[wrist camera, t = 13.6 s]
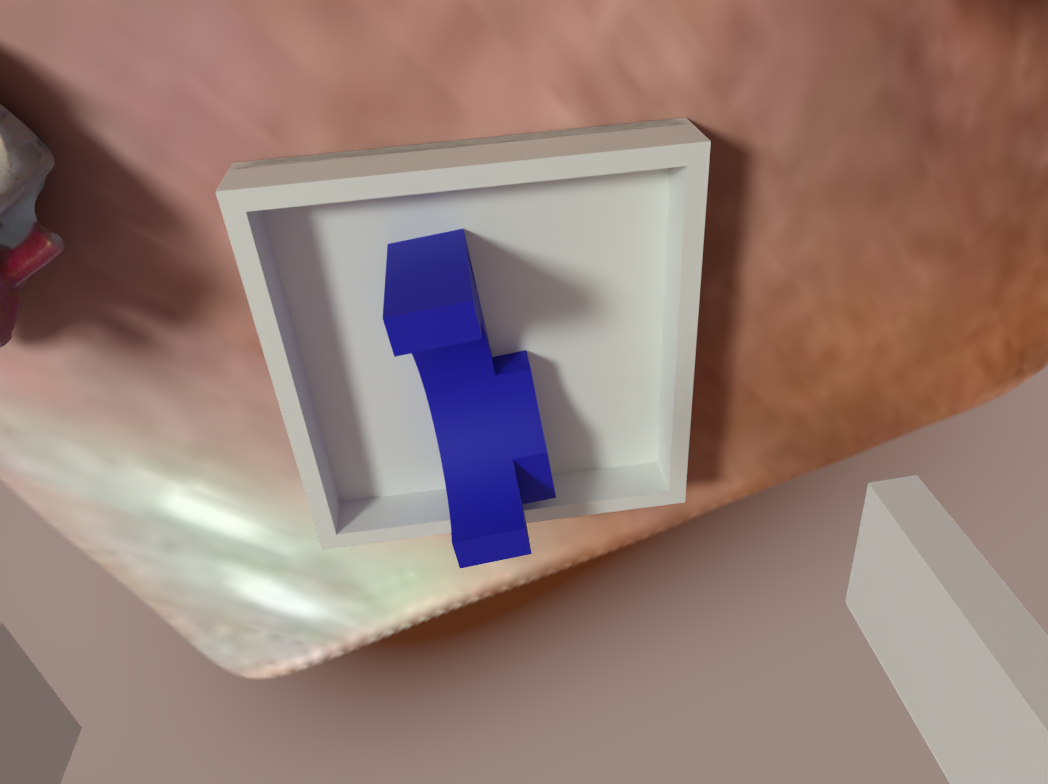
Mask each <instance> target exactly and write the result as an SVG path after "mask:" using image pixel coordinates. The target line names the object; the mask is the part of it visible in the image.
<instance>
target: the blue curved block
mask: <svg viewBox="0 0 1048 784" xmlns="http://www.w3.org/2000/svg"><path fill="white" fill-rule="evenodd" d="M383 322H384V325H385V328H386V331H387V334H388V338H389V341H390V344H391V347H392V351H393V354H394V357H396V356H401V355H406V354H411V353H412V355H413V358H414V360H415V363H416V366H417V368H418V371H419V374H420V377H421V380H422V383H423V387H424V390H425V393H426V397H427V401H428V404H429V408H430V412H431V416H432V420H433V424H434V429H435V433H436V438H437V442H438V447H439V452H440V457H441V462H442V468H443V473H444V479H445V485H446V492H447V499H448V506H449V514H450V523H451V533H452V544H453V547H454V551H455V554H456V557H457V560H458V563H459V567H460V568H464V567H469V566H474V565H479V564H483V563H488V562H493V561H498V560H503V559H508V558H513V557H518V556H523V555H528V554H531V549H530V543H529V537H528V531H527V525H526V519H525V513H524V507H523V504H528V503H532V502H537V501H542V500H547V499H552V498H556V494H555V489H554V484H553V479H552V474H551V468H550V463H549V458H548V453H547V448H546V443H545V438H544V433H543V428H542V423H541V418H540V413H539V408H538V404H537V398H536V393H535V388H534V383H533V378H532V373H531V368H530V364H529V359H528V355H527V350H524V351H519V352H514V353H509V354H505V355H500V356H495V357H492V353H491V349H490V344H489V340H488V335H487V331H486V326H485V322H484V318H483V313H482V309H481V304H480V300H479V295H478V291H477V286H476V282H475V277H474V273H473V268H472V264H471V259H470V255H469V251H468V246H467V242H466V237H465V233H464V228H463V229H459V230H454V231H449V232H444V233H439V234H434V235H429V236H424V237H419V238H414V239H409V240H405V241H400V242H395V243H390V244H388V246H387V261H386V275H385V290H384V304H383Z"/></svg>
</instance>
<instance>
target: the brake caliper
mask: <svg viewBox="0 0 1048 784" xmlns="http://www.w3.org/2000/svg"><path fill="white" fill-rule="evenodd" d="M54 165H55V160H54V156H53V154H52V153H51V151H50V150H49V148H48V147H47V146H46V145H45V144H44V143H43V142H42V141H41V140H40V139H39V138H38V137H37V136H36V135H35V134H34V133H33V132H32V131H31V130H30V129H29V128H28V127H27V126H26V125H25V124H24V123H23V122H21V121H20V120H19V119H18V118H17V117H16V116H15V115H13V114H12V113H11V112H10V111H9V110H7V109H6V108H5V107H4V106H2V105H1V104H0V347H2V346H4V345H5V344H7V343H8V342H9V340H10V339H11V337H12V331H13V329H14V326H15V323H16V320H17V316H18V312H19V310H20V308H21V301H22V293H23V288H24V284H25V282H26V281H27V280H28V279H29V278H30V277H31V276H32V275H33V274H35V273H36V272H37V271H39V270H40V269H42V268H43V267H45V266H46V265H48V264H49V263H50V262H52V261H53V260H54V259H55V258H57V257H58V256H59V255H60V254H61V253H62V252H63V250H64V249H65V243H64V241H63V239H62V238H61V237H60V236H59V235H57V234H56V233H54V232H52V231H51V230H49V229H47V228H45V227H44V226H42V225H41V224H40V223H39V222H38V220H37V218H36V215H35V209H34V208H35V202H36V199H37V197H38V195H39V193H40V192H41V191H42V189H43V188H44V186H45V183H46V176H47V175H48V173H49V172H50V171H51V170H52V168H53V166H54Z"/></svg>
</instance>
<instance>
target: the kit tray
mask: <svg viewBox="0 0 1048 784" xmlns="http://www.w3.org/2000/svg"><path fill="white" fill-rule="evenodd" d="M710 147H711V141H710V140H709V139H708V138H707V137H706V136H705V135H704V134H703V133H702V132H701V131H700V130H699V129H698V128H696V127H695V126H694V125H693V124H692V123H691V122H690V121H689V120H688V119H687V118H678V119H668V120H658V121H648V122H638V123H628V124H618V125H608V126H598V127H588V128H578V129H568V130H558V131H548V132H538V133H528V134H518V135H508V136H498V137H488V138H478V139H468V140H458V141H448V142H438V143H428V144H418V145H408V146H398V147H388V148H378V149H368V150H358V151H348V152H338V153H328V154H318V155H308V156H298V157H288V158H278V159H268V160H258V161H248V162H238V163H232V165H231V166H230V168H229V170H228V171H227V173H226V175H225V176H224V178H223V180H222V181H221V183H220V185H219V186H218V188H217V190H216V191H215V192H216V195H217V199H218V202H219V205H220V209H221V212H222V215H223V219H224V222H225V225H226V229H227V232H228V235H229V239H230V242H231V245H232V249H233V252H234V255H235V259H236V262H237V266H238V269H239V272H240V276H241V279H242V282H243V286H244V289H245V292H246V296H247V299H248V302H249V306H250V309H251V312H252V316H253V319H254V322H255V326H256V329H257V332H258V336H259V339H260V342H261V346H262V349H263V353H264V356H265V359H266V363H267V366H268V369H269V373H270V376H271V379H272V383H273V386H274V389H275V393H276V396H277V399H278V403H279V406H280V409H281V413H282V416H283V419H284V423H285V426H286V429H287V433H288V436H289V440H290V443H291V446H292V450H293V453H294V456H295V460H296V463H297V466H298V470H299V473H300V476H301V480H302V483H303V486H304V490H305V493H306V496H307V500H308V503H309V506H310V510H311V513H312V517H313V520H314V523H315V527H316V530H317V533H318V537H319V540H320V543H321V547H322V549H330V548H337V547H345V546H353V545H360V544H368V543H376V542H383V541H391V540H399V539H406V538H414V537H422V536H430V535H437V534H445V533H451V523H450V514H449V506H448V499H447V492H446V485H445V479H444V473H443V468H442V462H441V457H440V452H439V447H438V442H437V438H436V433H435V429H434V424H433V420H432V416H431V412H430V408H429V404H428V401H427V397H426V393H425V390H424V387H423V383H422V380H421V377H420V374H419V371H418V368H417V366H416V363H415V360H414V358H413V355H412V353H411V354H406V355H401V356H396V357H394V354H393V351H392V347H391V344H390V341H389V338H388V334H387V331H386V328H385V325H384V322H383V304H384V290H385V275H386V261H387V246H388V244H390V243H395V242H400V241H405V240H409V239H414V238H419V237H424V236H429V235H434V234H439V233H444V232H449V231H454V230H459V229H463V228H464V233H465V237H466V242H467V246H468V251H469V255H470V259H471V264H472V268H473V273H474V277H475V282H476V286H477V291H478V295H479V300H480V304H481V309H482V313H483V318H484V322H485V326H486V331H487V335H488V340H489V344H490V349H491V353H492V357H495V356H500V355H505V354H509V353H514V352H519V351H524V350H527V355H528V359H529V364H530V368H531V373H532V378H533V383H534V388H535V393H536V398H537V404H538V408H539V413H540V418H541V423H542V428H543V433H544V438H545V443H546V448H547V453H548V458H549V463H550V468H551V474H552V479H553V484H554V489H555V494H556V498H552V499H547V500H542V501H537V502H532V503H528V504H523V507H524V513H525V519H526V523H530V522H537V521H545V520H553V519H560V518H568V517H576V516H584V515H591V514H599V513H607V512H614V511H622V510H630V509H637V508H645V507H653V506H660V505H668V504H676V503H684V502H685V494H686V480H687V466H688V452H689V438H690V425H691V411H692V397H693V383H694V369H695V355H696V341H697V327H698V313H699V300H700V286H701V272H702V258H703V244H704V230H705V216H706V202H707V188H708V175H709V161H710Z"/></svg>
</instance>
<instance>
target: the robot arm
mask: <svg viewBox="0 0 1048 784" xmlns="http://www.w3.org/2000/svg"><path fill="white" fill-rule="evenodd" d="M846 604H847V606H848V608H849V609H850V611H851V613H852V614H853V616H854V618H855V620H856V621H857V623H858V625H859V627H860V628H861V630H862V632H863V634H864V635H865V637H866V639H867V641H868V642H869V644H870V646H871V648H872V649H873V651H874V653H875V654H876V656H877V658H878V660H879V661H880V663H881V664H882V667H883V668H884V670H885V672H886V673H887V675H888V677H889V679H890V681H891V682H892V684H893V686H894V687H895V689H896V691H897V693H898V694H899V696H900V698H901V699H902V701H903V703H904V705H905V707H906V708H907V710H908V712H909V713H910V715H911V717H912V719H913V720H914V722H915V724H916V726H917V727H918V729H919V731H920V733H921V734H922V736H923V738H924V739H925V741H926V743H927V745H928V746H929V748H930V750H931V752H932V753H933V755H934V757H935V758H936V760H937V762H938V764H939V766H940V767H941V769H942V771H943V772H944V774H945V776H946V778H947V780H948V781H949V783H950V784H1048V636H1047V634H1045V632H1044V631H1043V630H1042V628H1041V627H1040V626H1039V625H1038V623H1037V622H1036V621H1035V620H1034V618H1033V617H1032V616H1031V615H1030V614H1029V612H1028V611H1027V610H1026V609H1025V607H1024V606H1023V605H1022V604H1021V602H1020V601H1019V600H1018V599H1017V598H1016V596H1015V595H1014V594H1013V593H1012V591H1011V590H1010V589H1009V588H1008V586H1007V585H1006V584H1005V583H1004V581H1003V580H1002V579H1001V578H1000V577H999V575H998V574H997V573H996V572H995V570H994V569H993V568H992V567H991V566H990V564H989V563H988V562H987V561H986V559H985V558H984V557H983V556H982V554H981V553H980V552H979V551H978V550H977V548H976V547H975V546H974V545H973V543H972V542H971V541H970V540H969V538H968V537H967V536H966V535H965V534H964V532H963V531H962V530H961V528H960V527H959V526H958V525H957V524H956V523H955V521H954V520H953V519H952V517H951V516H950V515H949V514H948V513H947V511H946V510H945V509H944V508H943V506H942V505H941V504H940V503H939V501H938V500H937V499H936V498H935V496H934V495H933V494H932V493H931V492H930V490H929V489H928V488H927V487H926V486H925V484H924V483H923V482H922V481H921V479H920V478H919V477H918V476H917V475H914V476H907V477H901V478H895V479H888V480H883V481H876V482H870V483H868V486H867V492H866V497H865V502H864V508H863V513H862V518H861V523H860V528H859V534H858V539H857V545H856V549H855V555H854V560H853V565H852V570H851V576H850V581H849V586H848V591H847V597H846ZM81 728H82V727H81V726H80V725H79V724H78V722H77V721H76V720H75V718H74V717H73V716H72V714H71V713H70V711H69V710H68V709H67V708H66V706H65V705H64V704H63V702H62V701H61V700H60V698H59V697H58V696H57V694H56V693H55V692H54V690H53V689H52V688H51V686H50V685H49V684H48V683H47V681H46V680H45V678H44V677H43V676H42V674H41V673H40V672H39V671H38V669H37V668H36V667H35V665H34V664H33V663H32V661H31V660H30V659H29V657H28V656H27V655H26V653H25V652H24V651H23V649H22V648H21V647H20V645H19V644H18V643H17V641H16V640H15V639H14V637H13V636H12V635H11V634H10V632H9V631H8V630H7V628H6V627H5V625H4V624H3V623H2V622H1V621H0V784H60V783H61V780H62V778H63V775H64V772H65V770H66V767H67V765H68V762H69V760H70V757H71V754H72V752H73V749H74V747H75V744H76V741H77V738H78V736H79V734H80V731H81Z"/></svg>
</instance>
